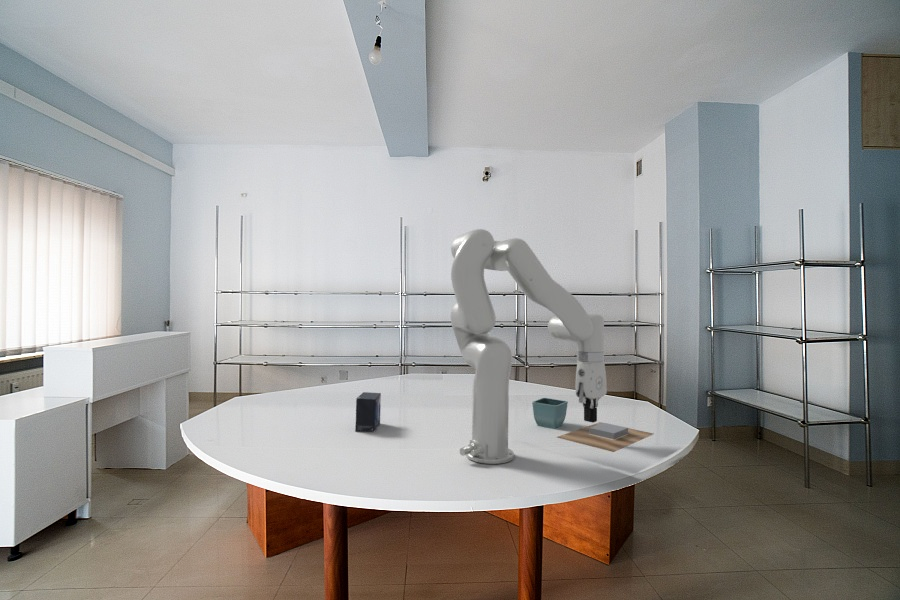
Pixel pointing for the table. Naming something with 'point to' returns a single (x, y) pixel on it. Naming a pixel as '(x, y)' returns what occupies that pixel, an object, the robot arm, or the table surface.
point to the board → (604, 443)
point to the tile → (608, 431)
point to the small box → (368, 411)
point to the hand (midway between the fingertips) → (590, 421)
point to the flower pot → (549, 412)
